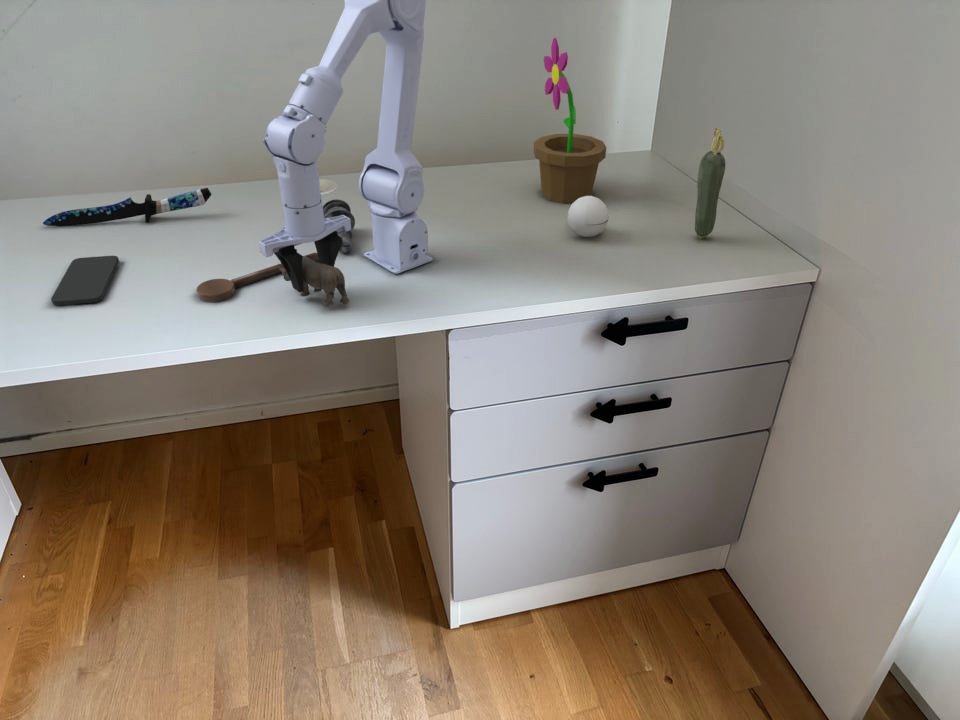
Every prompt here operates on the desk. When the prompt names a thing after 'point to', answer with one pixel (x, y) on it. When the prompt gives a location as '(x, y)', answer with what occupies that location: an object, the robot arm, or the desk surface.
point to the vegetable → (709, 186)
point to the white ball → (588, 216)
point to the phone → (85, 280)
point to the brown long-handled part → (236, 283)
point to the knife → (129, 209)
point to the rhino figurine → (321, 280)
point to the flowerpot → (566, 144)
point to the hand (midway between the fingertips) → (312, 284)
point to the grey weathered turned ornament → (338, 209)
